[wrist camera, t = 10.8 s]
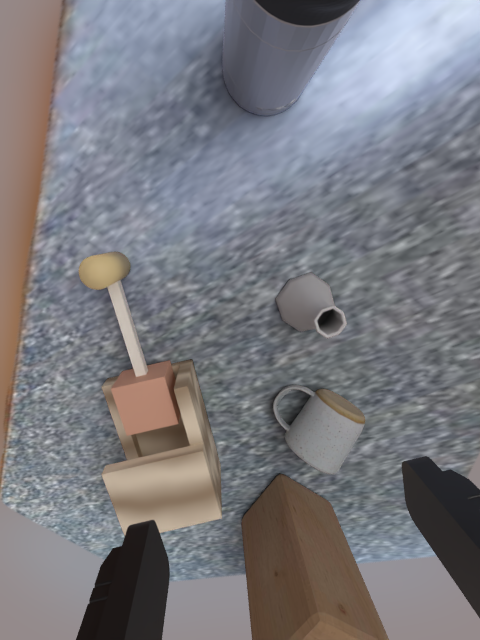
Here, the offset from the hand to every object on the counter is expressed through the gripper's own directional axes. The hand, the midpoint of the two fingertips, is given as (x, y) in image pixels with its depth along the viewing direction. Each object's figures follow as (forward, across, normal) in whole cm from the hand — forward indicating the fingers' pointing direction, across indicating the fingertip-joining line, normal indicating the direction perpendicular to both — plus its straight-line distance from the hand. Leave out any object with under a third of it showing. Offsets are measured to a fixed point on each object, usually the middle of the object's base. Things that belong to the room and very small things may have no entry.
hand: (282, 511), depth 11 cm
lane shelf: (+33, +12, +14) cm, 38 cm away
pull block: (+32, +12, +1) cm, 34 cm away
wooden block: (+33, -1, +32) cm, 46 cm away
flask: (+33, -9, +2) cm, 35 cm away
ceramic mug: (+33, -7, +17) cm, 38 cm away
